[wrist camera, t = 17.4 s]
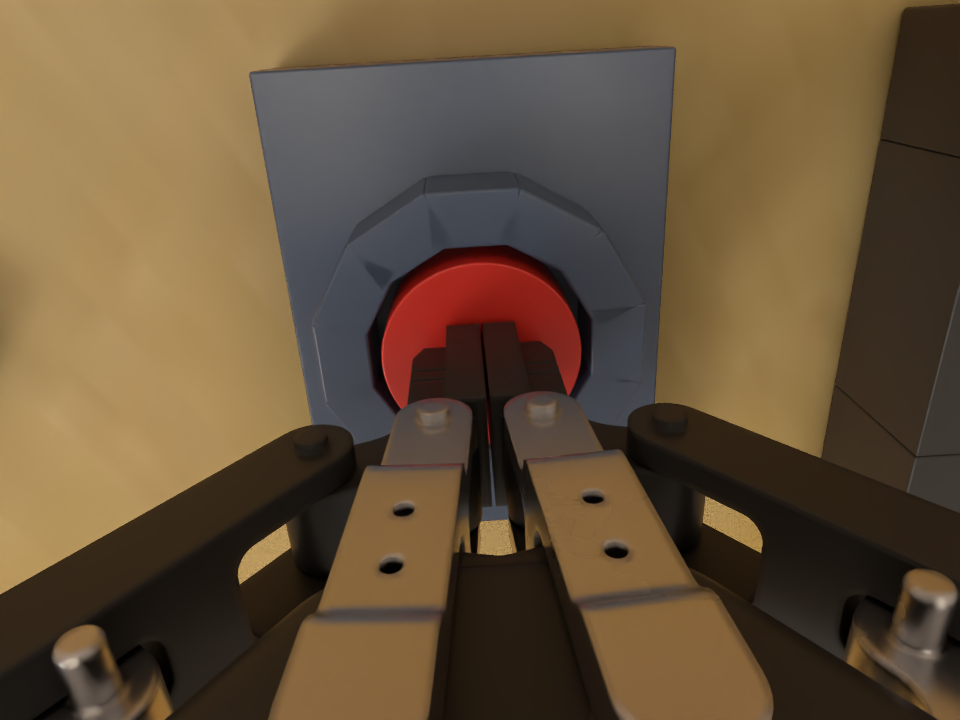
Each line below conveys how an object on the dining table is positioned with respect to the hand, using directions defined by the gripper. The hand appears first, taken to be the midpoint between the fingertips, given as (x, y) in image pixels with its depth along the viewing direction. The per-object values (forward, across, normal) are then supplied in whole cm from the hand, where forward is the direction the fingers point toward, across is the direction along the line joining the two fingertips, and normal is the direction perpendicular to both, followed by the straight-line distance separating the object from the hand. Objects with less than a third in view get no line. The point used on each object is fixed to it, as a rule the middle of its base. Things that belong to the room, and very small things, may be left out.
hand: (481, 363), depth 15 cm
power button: (+2, 0, 0) cm, 2 cm away
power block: (+4, 0, 0) cm, 4 cm away
